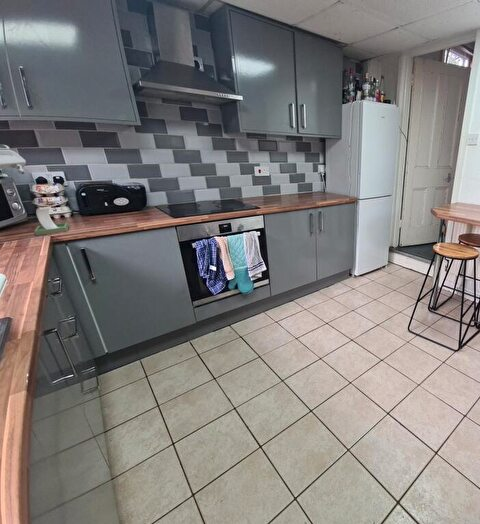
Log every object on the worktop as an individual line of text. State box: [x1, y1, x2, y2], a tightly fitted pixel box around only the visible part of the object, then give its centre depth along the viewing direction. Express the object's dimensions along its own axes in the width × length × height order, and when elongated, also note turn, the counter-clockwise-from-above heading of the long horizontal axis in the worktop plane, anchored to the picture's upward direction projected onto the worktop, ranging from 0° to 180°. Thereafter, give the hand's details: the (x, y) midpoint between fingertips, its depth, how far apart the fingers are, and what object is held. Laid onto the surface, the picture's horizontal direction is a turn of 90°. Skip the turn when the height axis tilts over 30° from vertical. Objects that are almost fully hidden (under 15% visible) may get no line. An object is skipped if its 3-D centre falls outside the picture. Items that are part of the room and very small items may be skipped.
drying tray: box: [33, 221, 70, 236], centre depth 152 cm, size 12×12×2 cm
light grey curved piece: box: [35, 205, 59, 230], centre depth 149 cm, size 5×6×12 cm
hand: (11, 174), depth 134 cm, fingers open, 8 cm apart
